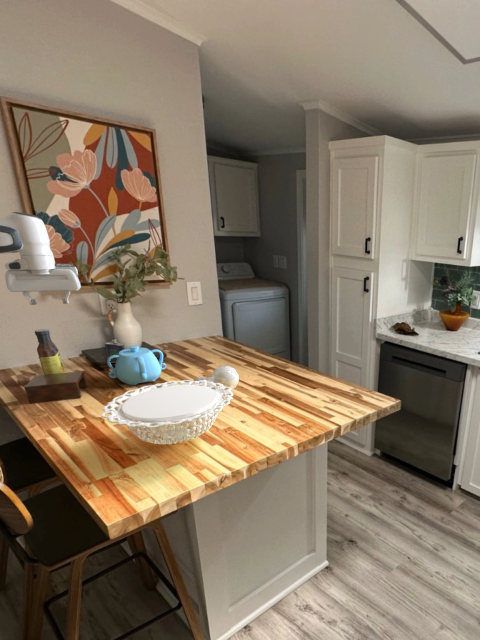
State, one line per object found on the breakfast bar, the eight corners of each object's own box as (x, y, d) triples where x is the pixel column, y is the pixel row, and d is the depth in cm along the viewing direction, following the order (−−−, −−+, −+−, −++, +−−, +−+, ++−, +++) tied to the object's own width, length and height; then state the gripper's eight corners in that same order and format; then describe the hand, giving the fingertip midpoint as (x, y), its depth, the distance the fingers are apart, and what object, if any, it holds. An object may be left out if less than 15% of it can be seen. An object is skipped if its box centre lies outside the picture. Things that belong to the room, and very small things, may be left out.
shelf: (29, 403, 135) (24, 387, 133) (40, 391, 145) (35, 375, 143) (80, 398, 141) (76, 381, 138) (87, 386, 151) (83, 371, 149)
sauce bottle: (70, 381, 155) (56, 329, 148) (51, 386, 150) (36, 333, 142) (62, 377, 158) (48, 327, 151) (43, 382, 153) (27, 330, 146)
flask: (107, 363, 175) (102, 339, 171) (113, 361, 178) (108, 337, 174) (125, 366, 173) (119, 341, 169) (130, 364, 176) (125, 339, 172)
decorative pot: (105, 385, 152) (96, 350, 147) (137, 371, 167) (130, 339, 162) (143, 389, 150) (136, 354, 145) (173, 375, 165) (167, 342, 159)
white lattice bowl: (206, 408, 136) (200, 372, 132) (260, 440, 118) (256, 399, 113) (94, 442, 113) (83, 400, 109) (140, 488, 95) (128, 440, 90)
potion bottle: (243, 391, 155) (203, 404, 147) (231, 371, 158) (191, 384, 149) (244, 376, 148) (203, 390, 140) (232, 357, 151) (191, 369, 142)
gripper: (77, 263, 148) (86, 301, 153) (5, 262, 139) (17, 303, 144) (73, 264, 142) (83, 304, 147) (-2, 264, 134) (10, 306, 139)
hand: (50, 303), depth 146 cm, fingers open, 8 cm apart
